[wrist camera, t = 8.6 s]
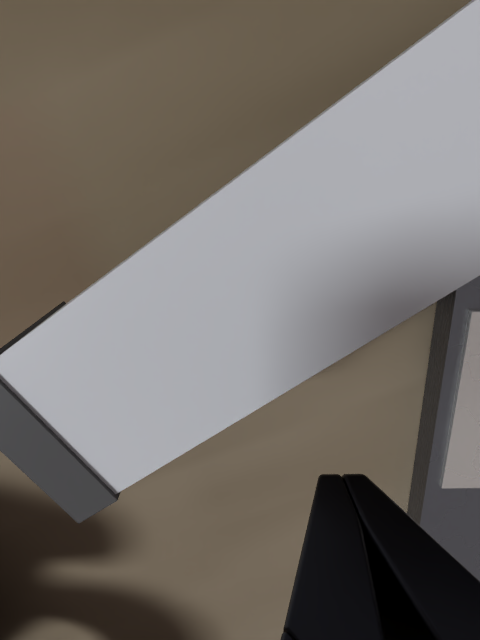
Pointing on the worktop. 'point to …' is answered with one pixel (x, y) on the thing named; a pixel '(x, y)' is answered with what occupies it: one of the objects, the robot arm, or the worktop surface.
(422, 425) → the label board
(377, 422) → the worktop surface
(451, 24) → the swing arm
